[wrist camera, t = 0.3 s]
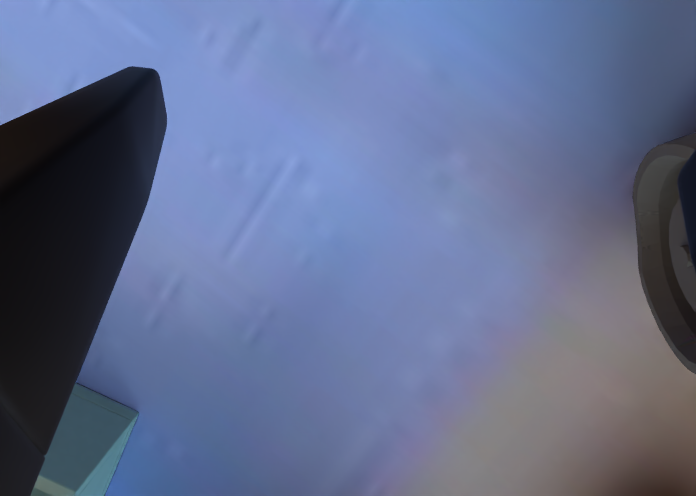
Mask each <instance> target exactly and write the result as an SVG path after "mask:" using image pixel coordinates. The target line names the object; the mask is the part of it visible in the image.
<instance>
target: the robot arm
mask: <svg viewBox="0 0 696 496" xmlns="http://www.w3.org/2000/svg"><path fill="white" fill-rule="evenodd" d="M166 127H167V114H166V108H165V102H164V97H163V91H162V86H161V80H160V77H159V74H158V72H157V71H156V70H154V69H151V68H143V67H134V66H132V67H127V68H125V69H123V70H121V71H119V72H116V73H114V74H112V75H110V76H108V77H105V78H103V79H101V80H99V81H97V82H94V83H92V84H90V85H88V86H86V87H83V88H81V89H79V90H77V91H75V92H73V93H70V94H68V95H66V96H64V97H62V98H59V99H57V100H55V101H53V102H51V103H48V104H46V105H44V106H42V107H40V108H37V109H35V110H33V111H31V112H29V113H27V114H24V115H22V116H20V117H18V118H16V119H13V120H11V121H9V122H7V123H5V124H2V125H0V496H30V495H31V493H32V490H33V488H34V486H35V483H36V481H37V478H38V476H39V473H40V471H41V468H42V466H43V463H44V461H45V457H44V456H45V455H46V454H47V452H48V450H49V447H50V445H51V442H52V440H53V437H54V435H55V432H56V430H57V427H58V425H59V422H60V420H61V417H62V415H63V412H64V410H65V407H66V405H67V402H68V400H69V397H70V395H71V393H72V390H73V388H74V385H75V383H76V380H77V378H78V375H79V373H80V370H81V368H82V365H83V363H84V360H85V358H86V355H87V353H88V350H89V348H90V345H91V343H92V340H93V338H94V335H95V333H96V330H97V328H98V325H99V323H100V320H101V318H102V315H103V313H104V310H105V308H106V305H107V303H108V300H109V298H110V295H111V293H112V290H113V288H114V285H115V283H116V281H117V278H118V276H119V273H120V271H121V268H122V266H123V263H124V261H125V258H126V256H127V253H128V251H129V248H130V246H131V243H132V241H133V238H134V236H135V233H136V231H137V228H138V226H139V223H140V221H141V218H142V216H143V213H144V210H145V208H146V205H147V202H148V199H149V195H150V191H151V188H152V184H153V180H154V176H155V172H156V168H157V164H158V160H159V156H160V152H161V148H162V144H163V140H164V136H165V132H166ZM677 186H678V192H679V197H680V203H681V208H682V214H683V219H684V224H685V230H686V235H687V241H688V246H689V251H690V256H691V260H692V264H693V267H694V271H695V274H696V149H695V151H694V152H693V153H692V155H691V156H690V158H689V159H688V160H687V162H686V163H685V165H684V166H683V167H682V169H681V171H680V173H679V175H678V180H677Z"/></svg>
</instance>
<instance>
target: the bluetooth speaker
mask: <svg viewBox="0 0 696 496" xmlns="http://www.w3.org/2000/svg"><path fill="white" fill-rule="evenodd" d="M695 149H696V133H692V134H689V135H686V136H683V137H681V138H678V139H675V140H672V141H669V142H666V143H663V144H660V145H658V146H656V147H654V148H653V149H651V150H650V151H649V152H648V153H647V155H646V156H645V157H644V159H643V160H642V162H641V164H640V166H639V168H638V171H637V174H636V177H635V181H634V186H633V204H634V211H635V219H636V231H637V243H638V266H639V274H640V278H641V282H642V287H643V290H644V293H645V296H646V298H647V301H648V304H649V307H650V309H651V311H652V314H653V316H654V318H655V320H656V323H657V325H658V327H659V329H660V331H661V332H662V334H663V336H664V338H665V340H666V341H667V343H668V345H669V346H670V348H671V349H672V351H673V352H674V354H675V355H676V356H677V358H678V359H679V360H680V361H681V363H682V364H683V365H684V366H685V367H686V368H687V369H689V370H690V371H692V372H693V373H695V374H696V274H695V271H694V267H693V264H692V260H691V256H690V251H689V246H688V241H687V235H686V230H685V224H684V219H683V214H682V208H681V203H680V197H679V192H678V186H677V180H678V175H679V173H680V171H681V169H682V167H683V166H684V165H685V163H686V162H687V160H688V159H689V158H690V156H691V155H692V153H693V152H694V151H695Z"/></svg>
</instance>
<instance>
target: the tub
mask: <svg viewBox="0 0 696 496" xmlns="http://www.w3.org/2000/svg"><path fill="white" fill-rule="evenodd" d="M138 415H139V412H137V411H135V410H133V409H131V408H129V407H126V406H124V405H122V404H120V403H118V402H116V401H113V400H111V399H109V398H107V397H105V396H103V395H101V394H98V393H96V392H94V391H92V390H90V389H88V388H86V387H83V386H81V385H79V384H77V383H75V385H74V388H73V390H72V393H71V395H70V397H69V400H68V402H67V405H66V407H65V410H64V412H63V415H62V417H61V420H60V422H59V425H58V427H57V430H56V432H55V435H54V437H53V440H52V442H51V445H50V447H49V450H48V452H47V454H46V455H45V456H44V457H45V461H44V463H43V466H42V468H41V471H40V473H39V476H38V478H37V481H36V483H35V486H34V488H33V490H32V493H31V495H30V496H105V493H106V491H107V489H108V486H109V484H110V481H111V479H112V477H113V474H114V472H115V470H116V467H117V465H118V462H119V460H120V458H121V455H122V453H123V450H124V448H125V446H126V443H127V441H128V439H129V436H130V434H131V431H132V429H133V427H134V424H135V422H136V420H137V417H138Z"/></svg>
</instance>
